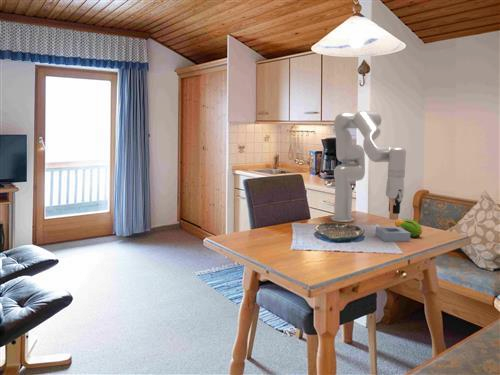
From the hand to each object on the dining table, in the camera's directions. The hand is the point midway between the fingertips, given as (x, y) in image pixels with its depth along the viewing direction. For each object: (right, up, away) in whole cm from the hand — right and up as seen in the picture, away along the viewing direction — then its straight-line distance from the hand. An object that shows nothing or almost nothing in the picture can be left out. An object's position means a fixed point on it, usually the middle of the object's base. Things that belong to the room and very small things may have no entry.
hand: (394, 212), depth 201 cm
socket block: (0, -13, +2) cm, 13 cm away
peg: (0, -3, 0) cm, 3 cm away
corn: (+10, -12, +11) cm, 19 cm away
